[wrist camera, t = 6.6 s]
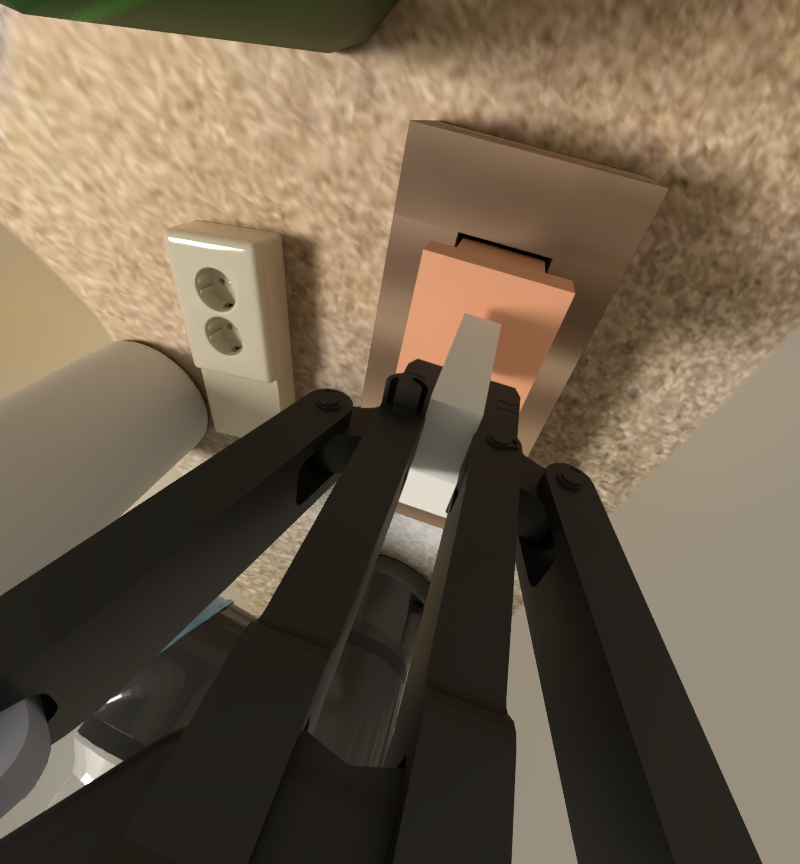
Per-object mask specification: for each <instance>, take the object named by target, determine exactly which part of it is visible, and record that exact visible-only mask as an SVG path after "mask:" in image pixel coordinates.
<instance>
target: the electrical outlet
mask: <svg viewBox="0 0 800 864" xmlns="http://www.w3.org/2000/svg"><path fill="white" fill-rule="evenodd" d="M163 238H164V242H165V246H166V250H167V254H168V258H169V262H170V266H171V270H172V275H173V279H174V283H175V287H176V291H177V295H178V299H179V303H180V307H181V312H182V316H183V320H184V324H185V328H186V332H187V336H188V340H189V344H190V349H191V353H192V357H193V361H194V364H195V366H196V367H197V368H201V371H202V375H203V379H204V384H205V388H206V392H207V396H208V401H209V405H210V409H211V414H212V418H213V422H214V426H215V431H216V432H219V433H223V434H227V435H231V436H235V437H239V438H242V437H243V436H245V435H246V434H248V433H249V432H251V431H252V430H254V429H255V428H257V427H258V426H260V425H261V424H263V423H264V422H266V421H267V420H269V419H271V418H272V417H274V416H275V415H277V414H278V413H280V412H281V411H283V410H284V409H286V408H287V407H289V406H290V405H292V404H293V403H295V402H296V399H295V388H294V376H293V364H292V352H291V340H290V328H289V317H288V305H287V293H286V281H285V269H284V257H283V246H282V237H281V235H280V234H279V233H276V232H269V231H263V230H256V229H250V228H244V227H237V226H231V225H224V224H218V223H212V222H205V221H199V220H195V221H192V222H188V223H185V224H181V225H178V226H174V227H171V228H168V229H165V230H164V232H163Z"/></svg>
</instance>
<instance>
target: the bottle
mask: <svg viewBox="0 0 800 864" xmlns="http://www.w3.org/2000/svg"><path fill="white" fill-rule="evenodd" d="M397 1H398V0H0V4H2V5H5V6H7V7H9V8H11V9H13V10H16V11H18V12H20V13H22V14H27V15H35V16H43V17H51V18H58V19H66V20H74V21H82V22H90V23H97V24H105V25H113V26H121V27H129V28H136V29H144V30H152V31H160V32H168V33H175V34H183V35H191V36H199V37H207V38H214V39H222V40H230V41H238V42H246V43H253V44H261V45H269V46H277V47H284V48H292V49H300V50H308V51H316V52H323V53H332V52H335V51H339V50H342V49H345V48H348V47H352V46H355V45H358V44H361V43H364V42H367V41H368V40H369V38H370V37H371V36H372V34H373V33H374V32H375V30H376V29H377V28H378V27H379V25H380V24H381V23H382V21H383V20H384V19H385V17H386V16H387V15H388V13H389V12H390V11H391V9H392V8H393V7H394V5H395V4H396V3H397Z"/></svg>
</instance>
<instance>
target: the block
mask: <svg viewBox="0 0 800 864" xmlns="http://www.w3.org/2000/svg"><path fill="white" fill-rule="evenodd" d="M668 190H669V188H667V187H665V186H663V185H661V184H659V183H658V182H656V181H654V180H652V179H650V178H648V177H646V176H644V175H641V174H637V173H634V172H630V171H626V170H622V169H618V168H614V167H611V166H607V165H603V164H599V163H595V162H592V161H588V160H584V159H580V158H576V157H572V156H569V155H565V154H561V153H557V152H553V151H550V150H546V149H542V148H538V147H534V146H530V145H527V144H523V143H519V142H515V141H511V140H508V139H504V138H500V137H496V136H492V135H488V134H485V133H481V132H477V131H473V130H469V129H465V128H462V127H458V126H454V125H450V124H446V123H443V122H439V121H431V120H410V122H409V128H408V134H407V140H406V145H405V151H404V157H403V163H402V169H401V175H400V180H399V186H398V192H397V198H396V204H395V209H394V215H393V221H392V227H391V233H390V239H389V244H388V250H387V256H386V262H385V268H384V274H383V279H382V285H381V291H380V297H379V303H378V308H377V314H376V320H375V326H374V332H373V338H372V343H371V349H370V355H369V361H368V367H367V372H366V378H365V384H364V390H363V396H362V402H361V408H373V407H378V406H380V405H381V403H382V398H383V393H384V388H385V383H386V379H387V378H388V377H389V376H390V375H393V374H396V369H397V365H398V360H399V356H400V351H401V347H402V342H403V338H404V333H405V329H406V324H407V320H408V315H409V311H410V307H411V302H412V298H413V293H414V289H415V284H416V280H417V275H418V271H419V266H420V262H421V257H422V253H423V249H424V248H425V247H426V246H427V245H428V244H429V243H430V241H431V240H432V241H436V242H439V243H443V244H446V245H450V246H453V247H457V246H458V245H459V243H460V242H461V240H462V239H463V237H464V238H466V235H471V236H475V237H478V238H482V239H485V240H489V241H492V242H496V243H499V244H503V245H506V246H510V247H513V248H517V249H520V250H524V251H527V252H531V253H534V254H538V255H541V256H542V258H541V260H544V261H545V273H547V274H551V275H554V276H558V277H561V278H564V279H568V280H571V281H573V284H574V289H575V295H574V298H573V300H572V302H571V304H570V306H569V308H568V310H567V312H566V315H565V317H564V319H563V321H562V323H561V325H560V327H559V330H558V332H557V334H556V336H555V338H554V340H553V342H552V344H551V347H550V349H549V351H548V353H547V355H546V357H545V359H544V361H543V364H542V366H541V368H540V370H539V372H538V374H537V376H536V379H535V381H534V383H533V385H532V387H531V389H530V391H529V393H528V396H527V398H526V400H525V402H524V404H523V406H522V408H521V410H520V413H519V424H518V437H517V438H518V439H519V441H520V442H521V444H522V453H523V454H524V455H525V456H526V457H528V455H529V453H530V451H531V449H532V447H533V445H534V444H535V442H536V440H537V438H538V436H539V434H540V432H541V430H542V428H543V427H544V425H545V423H546V421H547V419H548V417H549V415H550V413H551V411H552V410H553V408H554V406H555V404H556V402H557V400H558V398H559V396H560V394H561V392H562V391H563V389H564V387H565V385H566V383H567V381H568V379H569V377H570V375H571V374H572V372H573V370H574V368H575V366H576V364H577V362H578V360H579V358H580V356H581V355H582V353H583V351H584V349H585V347H586V345H587V343H588V341H589V339H590V338H591V336H592V334H593V332H594V330H595V328H596V326H597V324H598V322H599V320H600V319H601V317H602V315H603V313H604V311H605V309H606V307H607V305H608V303H609V302H610V300H611V298H612V296H613V294H614V292H615V290H616V288H617V286H618V284H619V283H620V281H621V279H622V277H623V275H624V273H625V271H626V269H627V267H628V266H629V264H630V262H631V260H632V258H633V256H634V254H635V252H636V250H637V248H638V247H639V245H640V243H641V241H642V239H643V237H644V235H645V233H646V231H647V230H648V228H649V226H650V224H651V222H652V220H653V218H654V216H655V214H656V212H657V211H658V209H659V207H660V205H661V203H662V201H663V199H664V197H665V195H666V194H667V192H668ZM395 512H396V513H399V514H402V515H405V516H408V517H411V518H413V519H416V520H419V521H422V522H425V523H428V524H431V525H434V526H436V527H439V528H442V529H444V525H445V521H446V518H444V517H441V516H439V515H436V514H433V513H430V512H427V511H424V510H421V509H418V508H415V507H413V506H410V505H407V504H404V503H401V502H398V504H397V507H396V510H395Z"/></svg>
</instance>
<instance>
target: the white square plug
mask: <svg viewBox="0 0 800 864" xmlns="http://www.w3.org/2000/svg"><path fill="white" fill-rule="evenodd" d="M457 480H458V479H457ZM456 484H457V482H456ZM456 484H452V483H449V482H446V481H443V480H441V479H438V478H435V477H432V476H429V475H426V474H423V473H420V472H417V471H414V470H411V469H410V470H409V473H408V477H407V480H406V483H405V485H404V488H403V491H402V493H401V496H400V499H399V502H401V503H404V504H407V505H410V506H413V507H415V508H418V509H421V510H424V511H427V512H430V513H433V514H436V515H439V516H441V517H444V518H446V517H447V513H446V512H445V511H446V509H447V506H448V504H449V501H450V499H451V496H452V494H453V491H454V489H455V487H456Z"/></svg>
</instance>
